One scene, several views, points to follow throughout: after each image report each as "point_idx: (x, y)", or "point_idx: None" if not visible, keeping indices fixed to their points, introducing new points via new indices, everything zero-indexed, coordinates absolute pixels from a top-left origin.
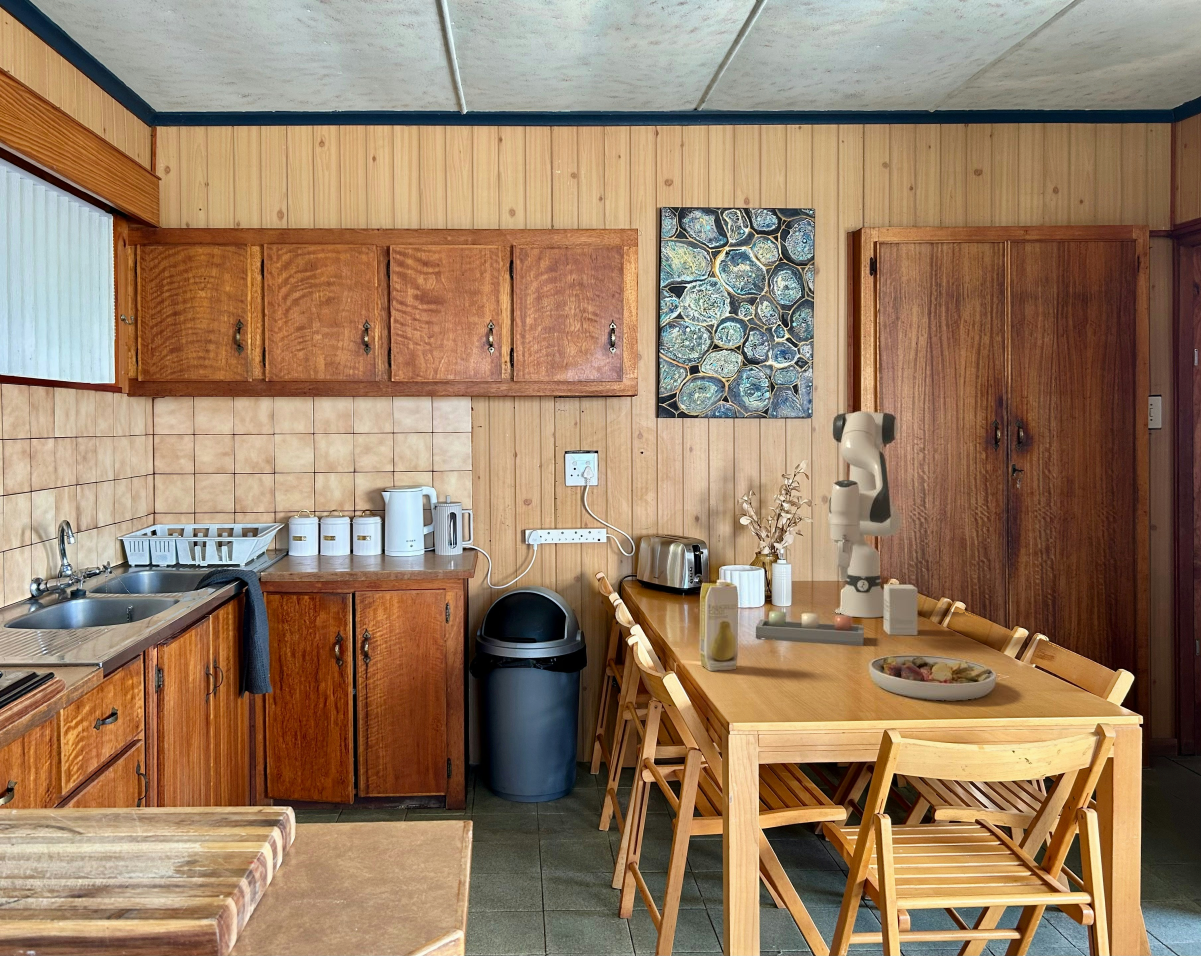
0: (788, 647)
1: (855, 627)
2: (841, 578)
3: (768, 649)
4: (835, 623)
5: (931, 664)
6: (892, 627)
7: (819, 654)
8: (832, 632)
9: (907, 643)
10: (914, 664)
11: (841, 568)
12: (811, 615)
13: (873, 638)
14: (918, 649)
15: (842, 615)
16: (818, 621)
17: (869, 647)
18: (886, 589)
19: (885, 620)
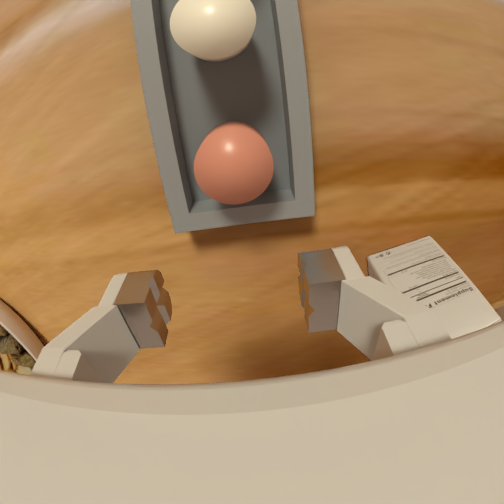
0: (57, 35)
1: (293, 188)
2: (113, 283)
3: (21, 11)
4: (213, 130)
5: (26, 354)
6: (374, 275)
7: (25, 139)
8: (152, 130)
9: (270, 304)
10: (1, 337)
11: (48, 362)
12: (188, 30)
13: (304, 225)
14: (212, 327)
15: (256, 159)
16: (211, 59)
17: (170, 233)
18: (460, 329)
19: (419, 259)
